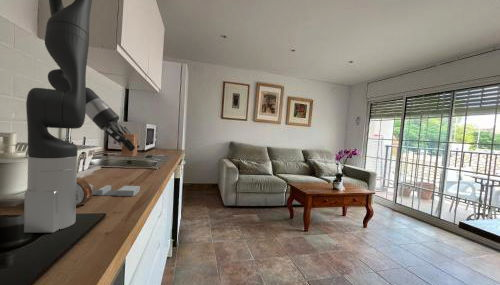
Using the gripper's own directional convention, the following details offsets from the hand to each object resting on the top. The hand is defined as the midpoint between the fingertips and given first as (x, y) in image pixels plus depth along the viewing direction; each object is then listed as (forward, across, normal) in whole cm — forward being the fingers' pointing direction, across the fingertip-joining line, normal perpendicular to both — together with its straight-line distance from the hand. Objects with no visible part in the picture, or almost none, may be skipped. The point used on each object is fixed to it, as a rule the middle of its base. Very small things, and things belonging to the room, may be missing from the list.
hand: (135, 148), depth 88 cm
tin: (+1, -14, +23) cm, 27 cm away
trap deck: (+5, 0, +19) cm, 20 cm away
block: (0, 0, +3) cm, 3 cm away
